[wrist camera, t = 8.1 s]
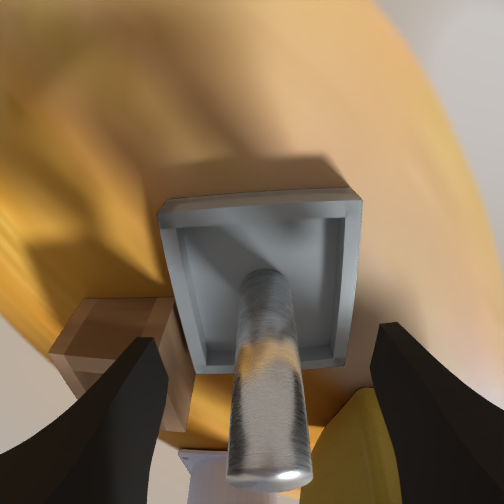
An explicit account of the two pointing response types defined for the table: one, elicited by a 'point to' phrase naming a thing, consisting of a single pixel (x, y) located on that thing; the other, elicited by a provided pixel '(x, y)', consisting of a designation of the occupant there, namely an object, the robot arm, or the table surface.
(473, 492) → the robot arm
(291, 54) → the table surface
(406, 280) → the table surface
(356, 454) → the flower pot
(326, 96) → the table surface
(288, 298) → the cylinder
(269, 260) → the tray
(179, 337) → the walnut block
